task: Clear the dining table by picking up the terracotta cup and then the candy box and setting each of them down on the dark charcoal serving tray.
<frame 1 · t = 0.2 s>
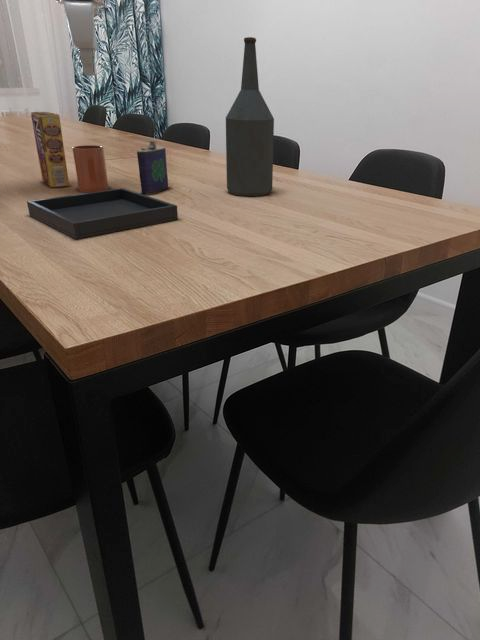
hand: (90, 75, 103), 23 cm above the table, tool pointing down, fingers open, 8 cm apart
cup: (93, 189, 114), on the table
tray: (103, 217, 93), on the table
candy box: (56, 184, 118), on the table
flask: (155, 192, 114), on the table
bottle: (249, 193, 114), on the table
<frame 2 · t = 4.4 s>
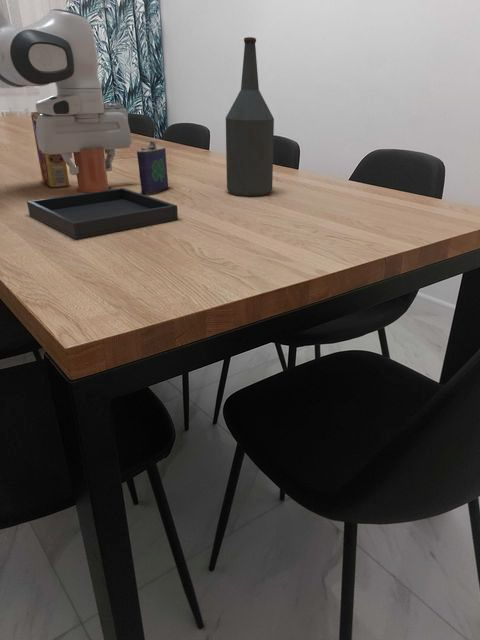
hand: (91, 172, 112), 4 cm above the table, tool pointing down, fingers closed on cup, 6 cm apart
cup: (93, 189, 114), on the table, touching gripper
everything else where it was.
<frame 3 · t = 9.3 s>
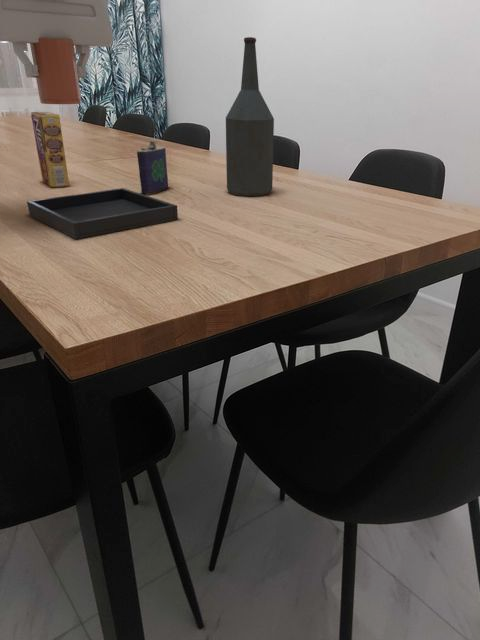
hand: (57, 77, 81), 23 cm above the table, tool pointing down, fingers closed on cup, 6 cm apart
cup: (61, 103, 83), point 19 cm above the table, touching gripper
everything else where it was.
when the fingers open (4 cm above the table, at t = 14.0 s): cup stays where it is, resting on tray.
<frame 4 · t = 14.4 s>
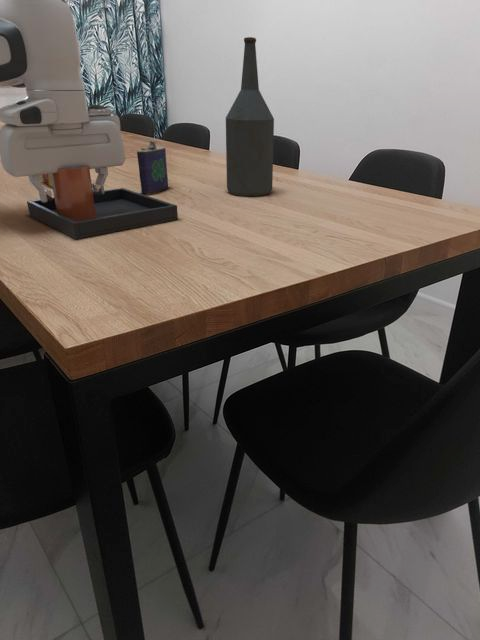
hand: (73, 197, 87), 4 cm above the table, tool pointing down, fingers open, 8 cm apart
cup: (77, 218, 89), point 1 cm above the table, touching tray
everything else where it was.
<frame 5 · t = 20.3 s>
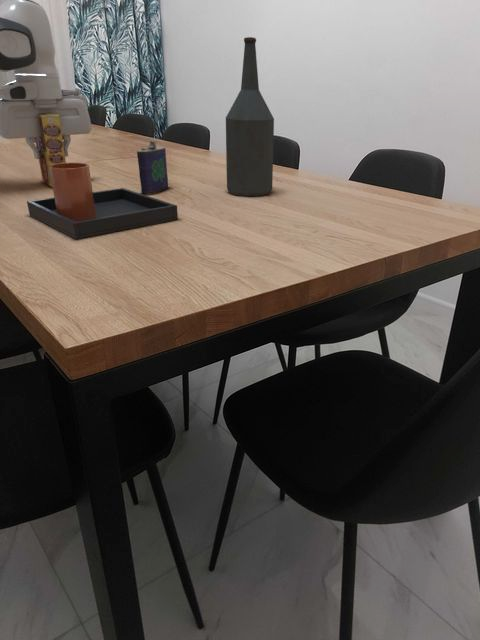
hand: (51, 157, 115), 6 cm above the table, tool pointing down, fingers closed on candy box, 4 cm apart
candy box: (56, 184, 118), on the table, touching gripper
everything else where it was.
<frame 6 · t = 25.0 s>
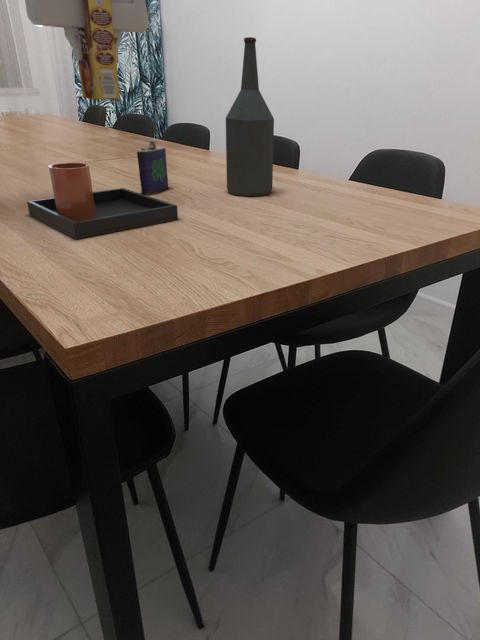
hand: (96, 60, 87), 25 cm above the table, tool pointing down, fingers closed on candy box, 4 cm apart
candy box: (102, 100, 90), point 19 cm above the table, touching gripper
everything else where it was.
when the fingers open (6 cm above the table, at t = 29.9 s): candy box stays where it is, resting on tray.
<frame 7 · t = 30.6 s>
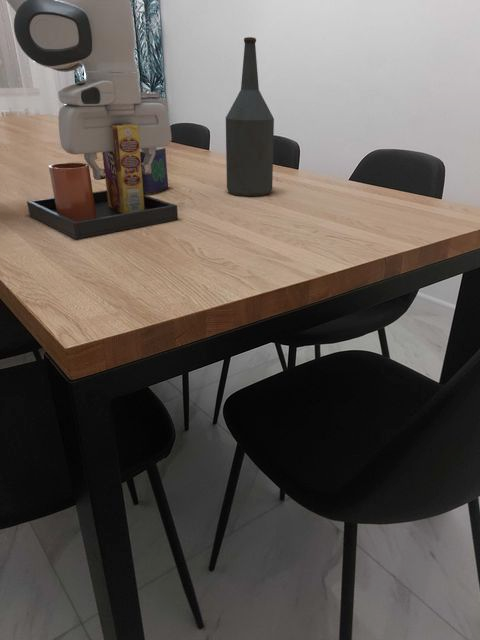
hand: (123, 176, 92), 7 cm above the table, tool pointing down, fingers open, 8 cm apart
candy box: (127, 211, 95), resting on tray
everything else where it was.
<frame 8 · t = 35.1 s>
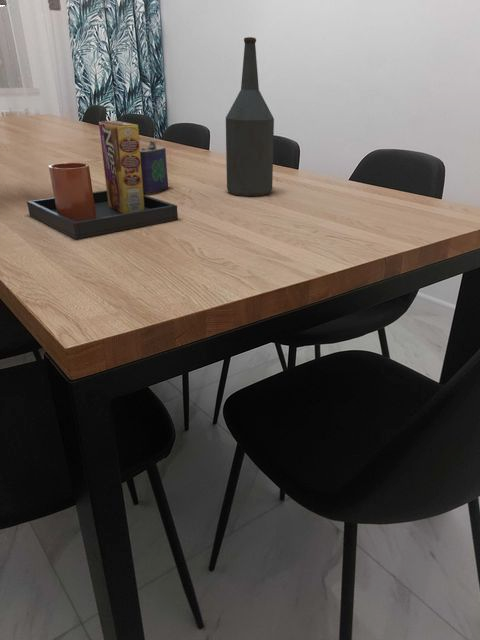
hand: (29, 8, 88), 33 cm above the table, tool pointing down, fingers open, 8 cm apart
nothing on the table moved.
at the end: cup inside the target area in the tray (4.9 cm from its centre), point 0.6 cm above the tray's base; candy box inside the target area in the tray (5.0 cm from its centre), point 0.4 cm above the tray's base; cup tilted 0° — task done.
